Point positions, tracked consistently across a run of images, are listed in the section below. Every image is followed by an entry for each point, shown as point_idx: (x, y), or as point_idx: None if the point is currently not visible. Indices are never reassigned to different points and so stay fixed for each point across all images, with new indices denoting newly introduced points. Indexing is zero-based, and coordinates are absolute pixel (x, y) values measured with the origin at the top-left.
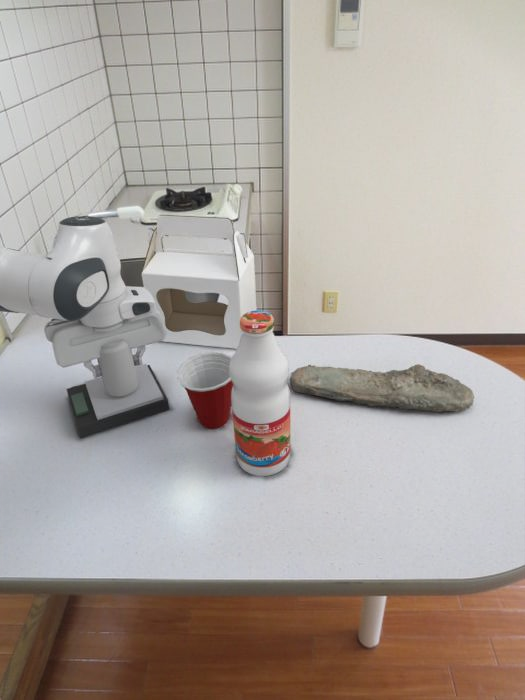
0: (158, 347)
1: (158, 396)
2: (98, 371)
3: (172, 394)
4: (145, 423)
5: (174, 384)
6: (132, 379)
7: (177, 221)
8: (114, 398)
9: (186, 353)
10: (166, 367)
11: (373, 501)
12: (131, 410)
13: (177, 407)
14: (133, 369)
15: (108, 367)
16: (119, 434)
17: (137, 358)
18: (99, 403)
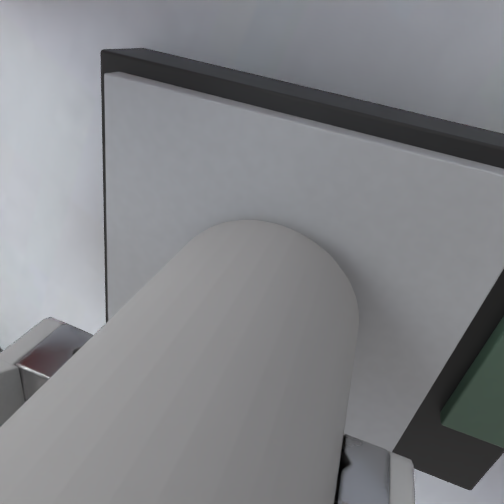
0: None
1: (126, 90)
2: (362, 495)
3: (100, 147)
4: (289, 27)
5: (76, 200)
6: (176, 265)
7: None
8: (342, 264)
9: (4, 311)
10: (78, 304)
11: None
12: (313, 109)
13: (106, 37)
14: (113, 316)
15: (272, 477)
16: (460, 37)
17: (24, 372)
18: (438, 290)
